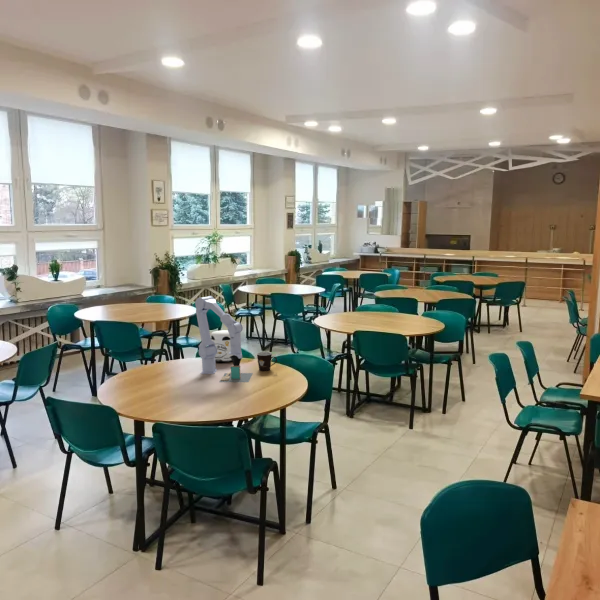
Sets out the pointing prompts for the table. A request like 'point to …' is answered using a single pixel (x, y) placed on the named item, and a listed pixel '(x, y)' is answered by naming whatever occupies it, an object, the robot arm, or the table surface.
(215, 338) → the milk container
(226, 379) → the turner
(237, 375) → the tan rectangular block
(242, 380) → the mat
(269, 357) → the coffee mug
